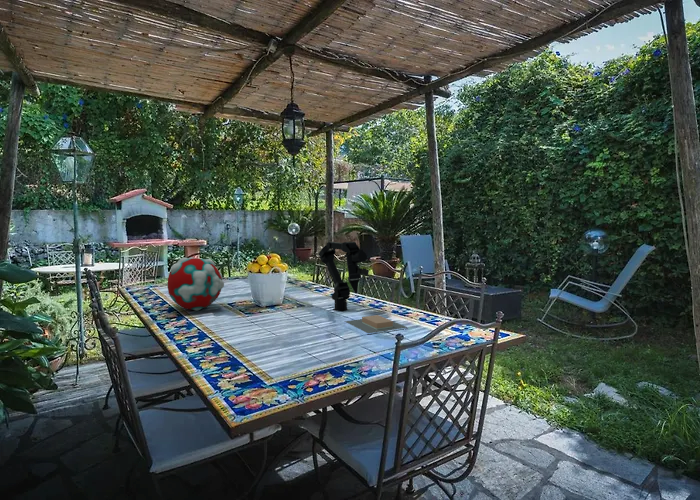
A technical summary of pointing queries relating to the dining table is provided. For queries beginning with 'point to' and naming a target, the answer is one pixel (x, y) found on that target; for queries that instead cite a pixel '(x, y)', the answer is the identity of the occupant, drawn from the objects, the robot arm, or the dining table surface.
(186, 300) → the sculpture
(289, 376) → the dining table surface
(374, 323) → the tile
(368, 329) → the mat
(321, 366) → the dining table surface
